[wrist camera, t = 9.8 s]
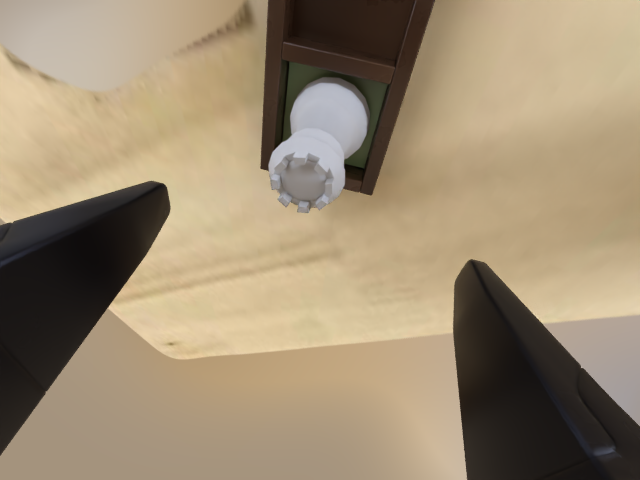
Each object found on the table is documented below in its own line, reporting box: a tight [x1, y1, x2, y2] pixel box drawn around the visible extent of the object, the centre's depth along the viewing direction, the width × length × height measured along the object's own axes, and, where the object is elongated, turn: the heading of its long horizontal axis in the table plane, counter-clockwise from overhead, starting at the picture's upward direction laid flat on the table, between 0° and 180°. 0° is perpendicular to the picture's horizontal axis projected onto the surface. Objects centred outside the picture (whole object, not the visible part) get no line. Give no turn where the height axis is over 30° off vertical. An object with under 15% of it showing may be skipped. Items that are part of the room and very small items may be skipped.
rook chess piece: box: [268, 77, 370, 213], centre depth 16 cm, size 4×4×8 cm
